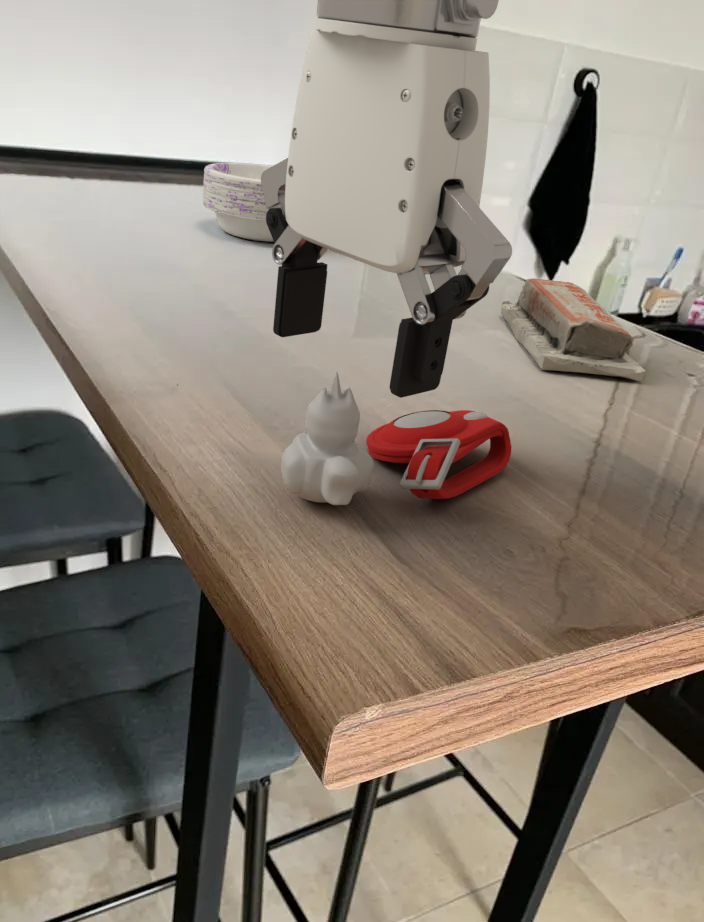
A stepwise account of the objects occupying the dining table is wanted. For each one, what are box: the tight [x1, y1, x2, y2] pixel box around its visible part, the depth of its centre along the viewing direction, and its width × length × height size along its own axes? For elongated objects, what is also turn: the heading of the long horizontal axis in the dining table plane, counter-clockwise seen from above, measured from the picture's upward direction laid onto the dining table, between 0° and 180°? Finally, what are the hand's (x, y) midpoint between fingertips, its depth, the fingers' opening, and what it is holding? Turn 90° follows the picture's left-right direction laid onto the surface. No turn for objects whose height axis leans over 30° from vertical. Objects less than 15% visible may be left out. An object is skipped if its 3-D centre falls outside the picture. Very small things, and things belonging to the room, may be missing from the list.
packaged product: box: [500, 278, 647, 382], centre depth 86 cm, size 18×5×10 cm
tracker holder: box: [365, 409, 512, 500], centre depth 57 cm, size 12×4×10 cm
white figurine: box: [280, 371, 375, 506], centre depth 50 cm, size 5×7×8 cm
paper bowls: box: [202, 162, 274, 243], centre depth 112 cm, size 15×15×8 cm
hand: (351, 360), depth 48 cm, fingers open, 9 cm apart
